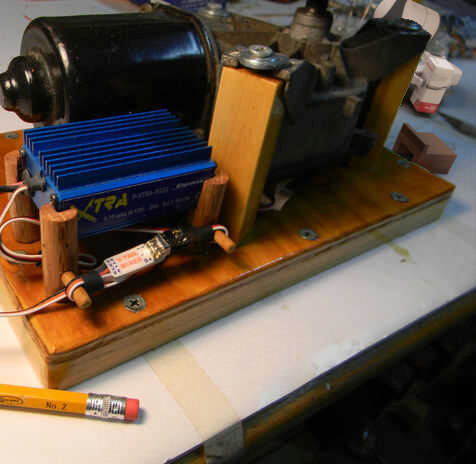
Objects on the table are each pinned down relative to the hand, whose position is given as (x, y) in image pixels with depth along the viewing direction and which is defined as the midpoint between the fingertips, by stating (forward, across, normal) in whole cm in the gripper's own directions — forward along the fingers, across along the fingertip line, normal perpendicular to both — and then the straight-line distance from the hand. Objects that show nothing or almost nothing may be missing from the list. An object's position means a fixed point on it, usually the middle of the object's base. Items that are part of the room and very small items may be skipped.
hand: (435, 84), depth 121 cm
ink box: (-1, 0, +7) cm, 7 cm away
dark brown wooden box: (+26, -14, +8) cm, 31 cm away
